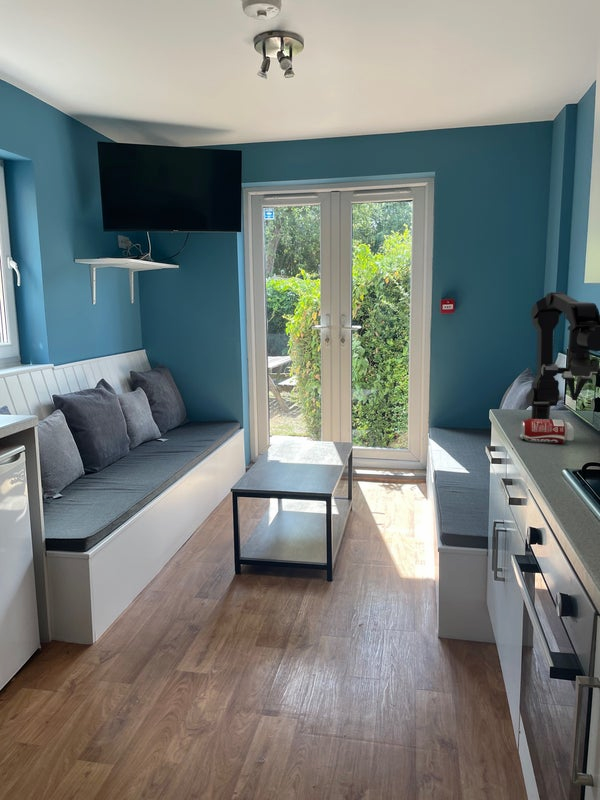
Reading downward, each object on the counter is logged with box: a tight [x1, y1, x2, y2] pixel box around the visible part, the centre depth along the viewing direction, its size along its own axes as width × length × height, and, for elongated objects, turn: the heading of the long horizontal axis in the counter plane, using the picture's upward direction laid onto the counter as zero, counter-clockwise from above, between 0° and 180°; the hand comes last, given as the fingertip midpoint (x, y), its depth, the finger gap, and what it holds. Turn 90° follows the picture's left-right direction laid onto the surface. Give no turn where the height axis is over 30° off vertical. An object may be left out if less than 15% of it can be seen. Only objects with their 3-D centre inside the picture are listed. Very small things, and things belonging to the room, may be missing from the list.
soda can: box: [519, 418, 568, 444], centre depth 169 cm, size 7×7×12 cm
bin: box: [565, 421, 575, 442], centre depth 176 cm, size 9×12×4 cm
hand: (574, 400), depth 169 cm, fingers closed
